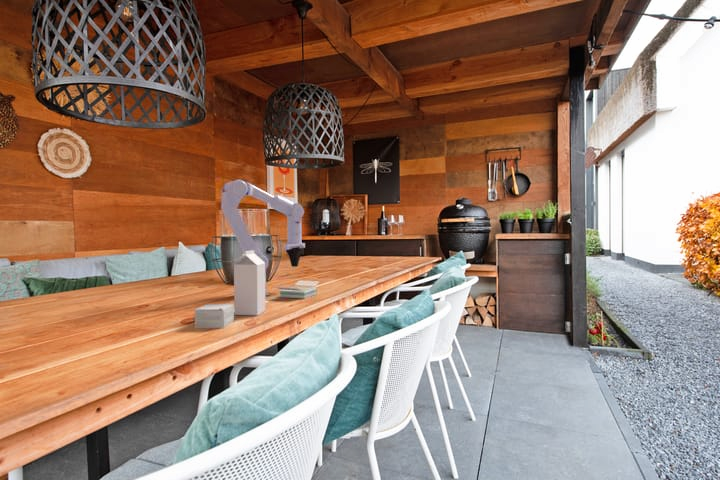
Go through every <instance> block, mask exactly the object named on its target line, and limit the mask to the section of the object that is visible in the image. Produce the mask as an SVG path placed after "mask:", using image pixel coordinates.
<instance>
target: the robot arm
mask: <svg viewBox="0 0 720 480" xmlns="http://www.w3.org/2000/svg"><path fill="white" fill-rule="evenodd" d="M220 194H221V206H220V208H221V212H222V213H223V215H224V217H225V219H226V221H227V223H228V224H229V227H230V229H231V231H232V233H233V235H234V236H235V238H236V240H237V242H238V245H239V246H240V249H241V250H242V255H243V254H245V251H250V250H254V253H255V254H256V255H257V256H258V257H259V258H260V259H261V260H262V261H264V262H265V296H270V294H269V293H268V292H267V269H268V266H269V259H268V257H267V256H266V255H264V254H263V252H262V250H261V249H260V248H259V247H258V246H257V245H256V243H255V241H254V239H253V237H252V235H251V233H250V231H249V229H248V227H247V225H246V223H245V221H244V220H243V217H242V215H241V213H240V211H239V209H238V207H239V204H240V202H241V200H242V199H243V198H244V197H248V196H249V197H250V196H251V197H253V198H255V199H257V200H260V201H263V202H265V203H268V204H269V206H270V208H271V209H274V210H275V211H277V212H280V213H281V214H283V215H285V216H286V217H287V219H286V220H287V222H286V223H287V224H286V225H287V226H286V228H287V230H286V231H287V233H286V234H287V235H286V236H287V237H286V238H287V242H286V244H285V243H284V244H283V247H282V248H283V249H282V250H285V252H286V254H287V255H288V257H289V260H290V265H291V267H293V268H295V267H298V266H299V263H300V259H301V255H302V253H303V251H304V249H305V248H306V243H305V242H302V240H303V239H302V237H303V236H302V235H303V234H302V233H303V231H302V222H303V221H302V219H303V218H302V217H303V216H304V214H305V210H304V208H303V206H302V204H300V203H297V202H296V203H295V202H294V200H292V199H291V200H289V199H287V198H285V197H284V195H283V194H275V195H272V194H270V193H269V192H266V191H264V190H262V189H261V188H259V187H257V186H255V185H254V184H252V183H250V182H248V181H244V180H242V179H235V180H233V181H227V182H226V183H225V184H224V185H223V187H222V189H221V191H220Z"/></svg>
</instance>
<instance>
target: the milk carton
mask: <svg viewBox="0 0 720 480" xmlns="http://www.w3.org/2000/svg"><path fill="white" fill-rule="evenodd" d="M265 270H266V269H265V262H264V261H262V260H261V259H260V258H259V257H258V256H257V255H256V254H255V253H254V250H250V251H245V254H243V253H242V254H241V255H240V256H239V257H238V261H236V262H235V263H234V265H233V290H234V291H233V294H234V300H233V301H234V302H233V303H234V316H259V315H260V314H262V313H264V312H265V311H266V295H265Z"/></svg>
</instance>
